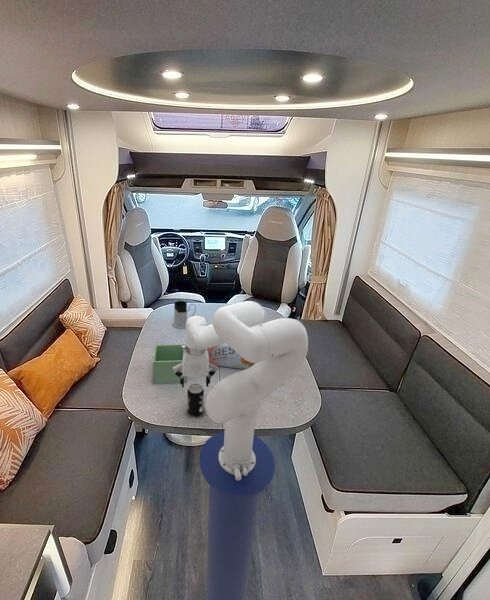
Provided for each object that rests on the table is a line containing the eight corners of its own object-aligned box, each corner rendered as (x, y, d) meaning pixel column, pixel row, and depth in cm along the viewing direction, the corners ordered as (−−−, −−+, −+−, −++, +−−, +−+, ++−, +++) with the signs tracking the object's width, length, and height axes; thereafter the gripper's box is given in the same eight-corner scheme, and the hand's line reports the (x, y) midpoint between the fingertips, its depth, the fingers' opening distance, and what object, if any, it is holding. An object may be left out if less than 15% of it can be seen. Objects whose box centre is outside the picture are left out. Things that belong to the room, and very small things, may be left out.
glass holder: (172, 322, 201) (172, 301, 195) (194, 320, 205) (194, 299, 199) (175, 328, 193) (174, 306, 187) (197, 326, 197) (197, 304, 191)
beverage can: (196, 420, 124) (196, 396, 119) (184, 412, 128) (183, 388, 123) (206, 410, 129) (207, 387, 124) (194, 403, 132) (194, 380, 128)
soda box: (191, 363, 159) (191, 341, 154) (196, 349, 172) (197, 328, 167) (272, 373, 153) (275, 351, 148) (272, 358, 166) (274, 336, 161)
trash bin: (185, 382, 145) (185, 361, 141) (153, 383, 144) (152, 362, 140) (185, 364, 159) (184, 344, 154) (156, 365, 158) (155, 345, 153)
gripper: (172, 354, 112) (172, 391, 119) (220, 353, 114) (217, 390, 121) (172, 343, 119) (173, 379, 126) (217, 342, 121) (215, 378, 128)
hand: (195, 384), depth 123 cm, fingers open, 9 cm apart
